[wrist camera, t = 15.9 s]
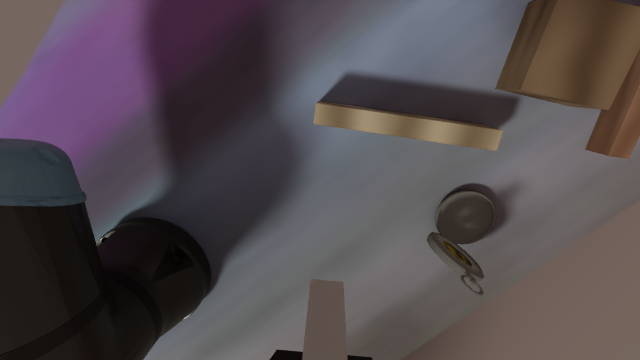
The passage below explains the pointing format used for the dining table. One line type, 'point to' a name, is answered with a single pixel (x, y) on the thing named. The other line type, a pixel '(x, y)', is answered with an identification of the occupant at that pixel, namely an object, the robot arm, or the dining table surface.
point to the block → (573, 51)
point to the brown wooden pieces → (607, 137)
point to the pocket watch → (462, 232)
